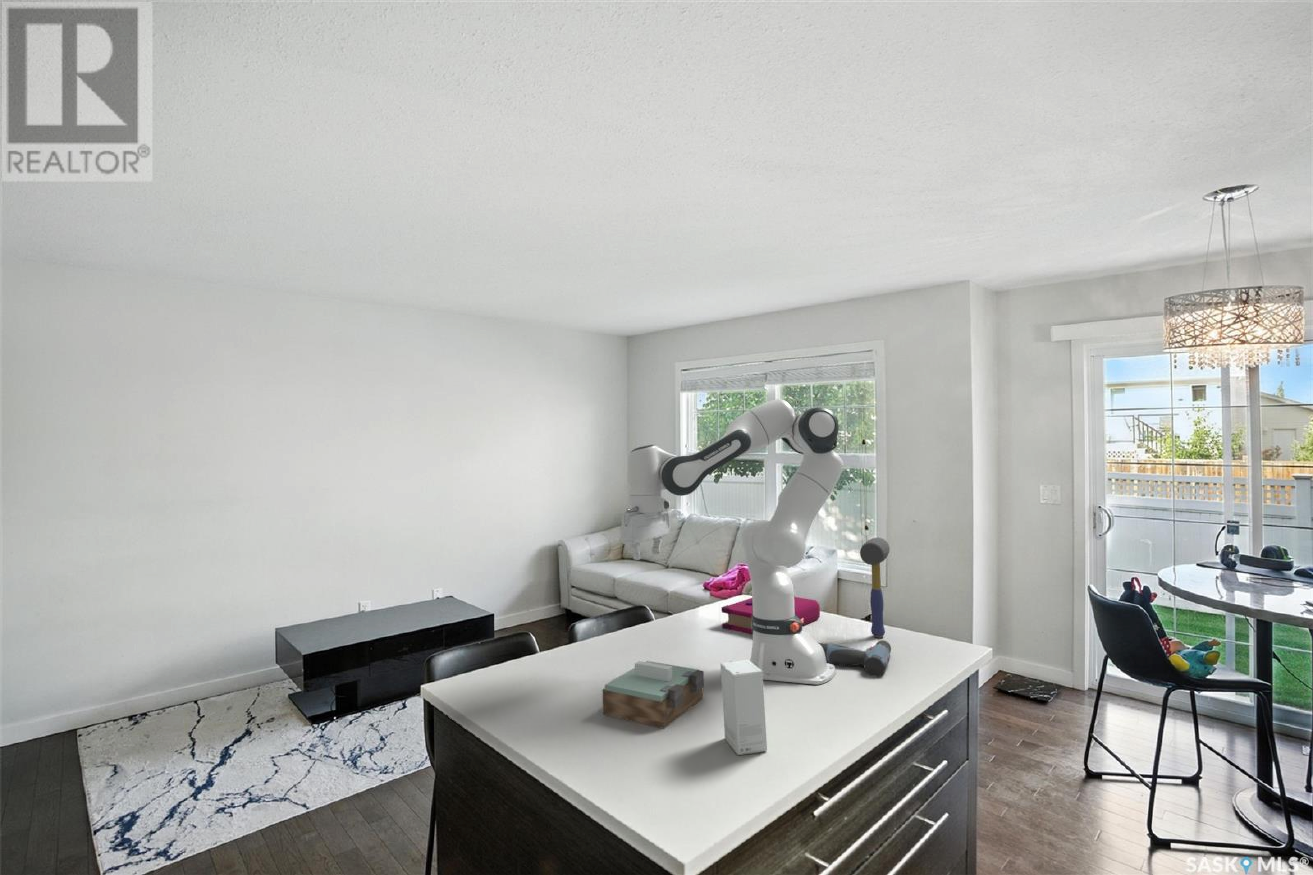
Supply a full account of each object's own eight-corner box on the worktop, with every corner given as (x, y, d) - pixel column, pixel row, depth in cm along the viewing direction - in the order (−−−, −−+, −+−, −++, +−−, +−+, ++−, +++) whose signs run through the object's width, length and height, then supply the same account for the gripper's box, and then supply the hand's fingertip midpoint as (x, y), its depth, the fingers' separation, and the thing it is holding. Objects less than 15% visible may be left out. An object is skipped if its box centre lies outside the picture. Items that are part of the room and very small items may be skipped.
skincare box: (767, 752, 124) (765, 671, 124) (735, 756, 122) (732, 675, 123) (752, 733, 132) (749, 658, 132) (721, 737, 130) (719, 661, 131)
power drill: (823, 647, 187) (895, 656, 178) (807, 668, 171) (885, 679, 161) (822, 629, 187) (894, 637, 178) (806, 648, 171) (884, 657, 161)
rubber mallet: (887, 644, 187) (883, 542, 188) (861, 641, 191) (857, 541, 192) (894, 632, 198) (890, 536, 199) (869, 630, 202) (866, 535, 203)
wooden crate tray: (708, 699, 150) (707, 668, 150) (670, 730, 135) (669, 694, 135) (645, 687, 159) (644, 657, 159) (603, 714, 144) (602, 680, 144)
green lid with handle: (699, 674, 151) (699, 658, 152) (661, 701, 136) (660, 683, 136) (647, 665, 159) (646, 649, 159) (605, 690, 144) (604, 672, 144)
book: (820, 621, 216) (819, 598, 216) (774, 640, 195) (773, 616, 196) (768, 611, 230) (767, 590, 230) (720, 629, 210) (719, 605, 210)
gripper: (634, 509, 161) (636, 563, 161) (673, 502, 179) (675, 551, 179) (614, 508, 165) (615, 562, 164) (654, 501, 182) (655, 550, 182)
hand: (647, 556), depth 172 cm, fingers open, 8 cm apart
